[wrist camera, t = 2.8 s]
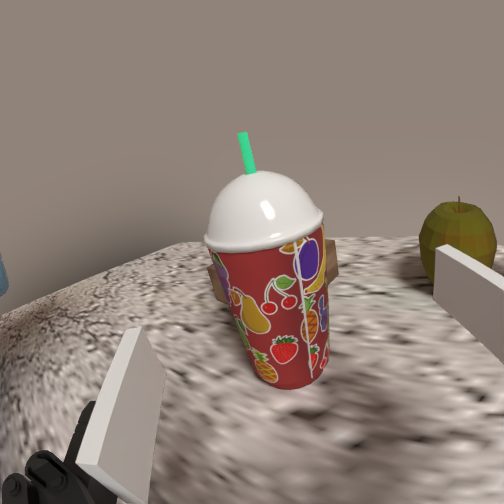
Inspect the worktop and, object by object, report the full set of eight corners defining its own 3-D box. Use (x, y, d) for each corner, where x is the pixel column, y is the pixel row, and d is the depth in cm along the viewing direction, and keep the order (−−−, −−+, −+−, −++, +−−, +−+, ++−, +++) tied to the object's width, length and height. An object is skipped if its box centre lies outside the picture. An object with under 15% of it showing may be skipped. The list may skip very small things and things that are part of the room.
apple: (406, 275, 34) (403, 191, 31) (463, 261, 33) (465, 182, 29) (441, 318, 25) (448, 214, 21) (504, 295, 24) (515, 202, 20)
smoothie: (358, 362, 24) (332, 116, 17) (285, 419, 20) (212, 135, 13) (298, 328, 31) (258, 131, 23) (231, 368, 27) (163, 154, 20)
